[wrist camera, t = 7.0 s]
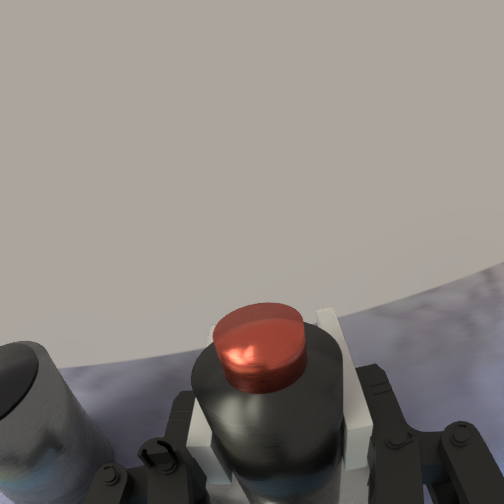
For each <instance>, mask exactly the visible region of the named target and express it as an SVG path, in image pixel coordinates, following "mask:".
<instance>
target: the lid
mask: <svg viewBox="0 0 504 504" xmlns="http://www.w3.org/2000/svg"><path fill="white" fill-rule="evenodd" d="M191 385H192V389H193V392H194V394H195V396H196V399H197V401H198V403H199V405H200V407H201V410H202V412H203V414H204V416H205V418H206V420H207V422H208V424H209V427H210V429H211V431H212V433H213V435H214V437H215V439H216V441H217V443H218V445H219V447H220V449H221V451H222V453H223V455H224V457H225V458H226V460H227V462H228V464H229V466H230V468H231V470H232V484H210V482H209V481H208V479H207V481H206V489H207V491H208V493H209V497H210V504H368V488H369V486H367V483H368V478H369V474H370V469H369V465H368V461H367V466H366V467H362V468H357V469H353V470H348V471H345V468H344V463H343V458H342V443H343V356H342V351H341V349H340V346H339V344H338V343H337V342H336V340H335V339H334V338H333V337H332V336H331V335H330V334H329V333H327V332H326V331H325V330H323V329H321V328H319V327H317V326H315V325H312V324H308V323H306V322H303V319H302V316H301V315H300V313H299V312H298V311H297V310H295V309H294V308H292V307H290V306H287V305H284V304H280V303H258V304H253V305H248V306H245V307H242V308H239V309H237V310H235V311H233V312H231V313H229V314H228V315H226V316H225V317H224V318H223V319H221V320H220V321H219V322H218V324H217V325H216V326H215V328H214V331H213V342H212V343H211V344H210V345H209V346H208V347H206V348H205V350H204V351H203V352H202V353H201V354H200V356H199V357H198V358H197V360H196V362H195V364H194V367H193V370H192V375H191Z"/></svg>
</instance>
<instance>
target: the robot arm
mask: <svg viewBox="0 0 504 504" xmlns="http://www.w3.org/2000/svg"><path fill="white" fill-rule="evenodd" d="M316 313H317V323H318V327H319V328H321V329H323V330H325V331H326V332H327V333H329V334H330V335H331V336H332V337H333V338H334V339H335V340H336V342H337V343H338V344H339V346H340V349H341V351H342V356H343V443H342V458H343V463H344V468H345V471H348V470H353V469H357V468H362V467H366V466H367V461H368V465H369V469H370V474H369V478H368V483H367V486H369V488H368V504H424V498H423V485H422V484H426V486H427V488H428V491H429V493H430V496H431V499H432V501H433V504H504V477H503V475H502V473H501V471H500V469H499V467H498V466H497V464H496V462H495V460H494V458H493V456H492V454H491V453H490V451H489V449H488V447H487V446H486V444H485V442H484V440H483V439H482V437H481V435H480V433H479V432H478V430H477V429H476V428H475V426H474V425H473V424H470V423H468V422H464V421H458V422H454V423H451V424H450V425H448V426H447V427H446V428H445V430H444V431H440V432H421V431H418V430H415V429H413V428H411V427H410V426H409V425H408V424H407V423H406V421H405V419H404V417H403V414H402V412H401V409H400V407H399V404H398V402H397V399H396V397H395V394H394V392H393V391H392V387H391V385H390V383H389V380H388V378H387V376H386V373H385V371H384V370H383V369H381V368H380V367H379V366H378V365H377V364H372V365H368V366H363V367H358V368H355V367H354V364H353V361H352V358H351V356H350V353H349V350H348V347H347V344H346V341H345V338H344V336H343V333H342V330H341V327H340V325H339V322H338V319H337V316H336V314H335V311H334V308H333V307H329V308H324V309H318V310H316ZM215 326H216V325H211V327H210V332H209V337H208V341H207V346H206V347H208V346H209V345H210V344H211V343H212V342H213V331H214V328H215ZM138 456H139V458H140V459H141V460H142V461H143V463H144V464H145V465H144V466H140V467H135V468H130V469H125V468H124V467H123V466H122V465H120V464H117V463H108V464H106V465H103V466H102V467H101V468H99V469H98V471H97V472H96V474H95V476H94V478H93V481H92V483H91V486H90V488H89V491H88V493H87V496H86V498H85V501H84V503H83V504H210V497H209V493H208V491H207V489H206V481H207V479H208V481H209V482H210V484H232V470H231V468H230V466H229V464H228V462H227V460H226V458H225V457H224V455H223V453H222V451H221V449H220V447H219V445H218V443H217V441H216V439H215V437H214V435H213V433H212V431H211V429H210V427H209V424H208V422H207V420H206V418H205V416H204V414H203V412H202V410H201V407H200V405H199V403H198V401H197V399H196V396H195V394H194V392H193V391H181V392H180V393H179V395H178V396H177V397H176V398H175V400H174V402H173V405H172V409H171V413H170V417H169V421H168V424H167V428H166V432H165V436H164V438H159V437H157V438H154V439H150V440H148V441H147V442H145V443H144V444H143V445H142V446H141V448H140V449H139V452H138Z"/></svg>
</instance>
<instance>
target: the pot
mask: <svg viewBox="0 0 504 504" xmlns="http://www.w3.org/2000/svg"><path fill="white" fill-rule="evenodd" d="M108 463H115V458H114V453H113V450H112V448H111V446H110V444H109V442H108V441H107V440H106V438H105V437H104V436H103V434H102V433H101V432H100V431H99V429H98V428H97V427H96V425H95V424H94V423H93V421H92V420H91V419H90V417H89V416H88V414H87V413H86V412H85V410H84V409H83V407H82V406H81V405H80V403H79V402H78V400H77V399H76V397H75V396H74V394H73V393H72V391H71V390H70V388H69V387H68V385H67V384H66V382H65V381H64V379H63V377H62V376H61V374H60V373H59V371H58V369H57V368H56V366H55V364H54V363H53V361H52V359H51V358H50V356H49V354H48V352H47V351H46V349H45V348H44V347H43V346H42V345H40V344H38V343H35V342H31V341H19V342H13V343H10V344H6V345H3V346H0V491H1V492H2V493H3V494H4V495H5V496H6V497H8V498H9V499H10V500H11V501H13V502H14V503H15V504H83V503H84V501H85V498H86V496H87V493H88V491H89V488H90V486H91V483H92V481H93V478H94V476H95V474H96V472H97V471H98V469H99V468H101V467H102V466H103V465H106V464H108Z"/></svg>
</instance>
